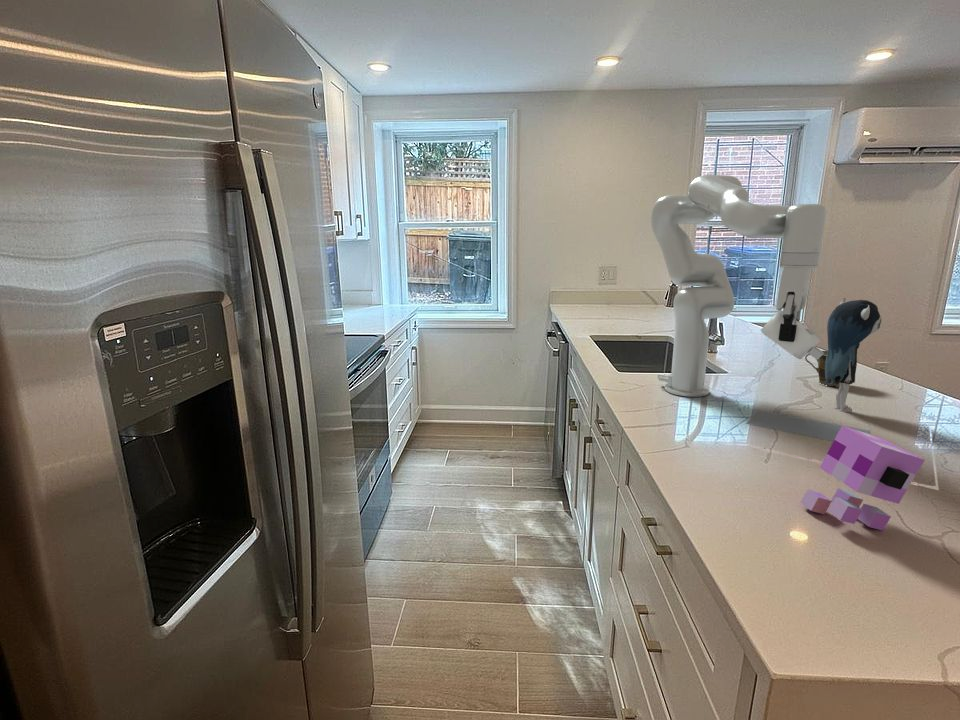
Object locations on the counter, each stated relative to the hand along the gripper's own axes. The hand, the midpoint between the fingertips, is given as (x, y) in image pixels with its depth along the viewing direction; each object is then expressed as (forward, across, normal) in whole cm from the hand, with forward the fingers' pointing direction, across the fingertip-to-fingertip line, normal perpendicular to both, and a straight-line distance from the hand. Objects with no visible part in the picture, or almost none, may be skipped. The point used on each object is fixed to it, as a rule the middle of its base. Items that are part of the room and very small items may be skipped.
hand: (788, 338), depth 119 cm
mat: (+22, -3, +6) cm, 23 cm away
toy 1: (+22, -23, +11) cm, 34 cm away
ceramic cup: (+22, -52, +5) cm, 57 cm away
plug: (+2, 0, 0) cm, 2 cm away
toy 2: (+22, +39, +18) cm, 48 cm away
